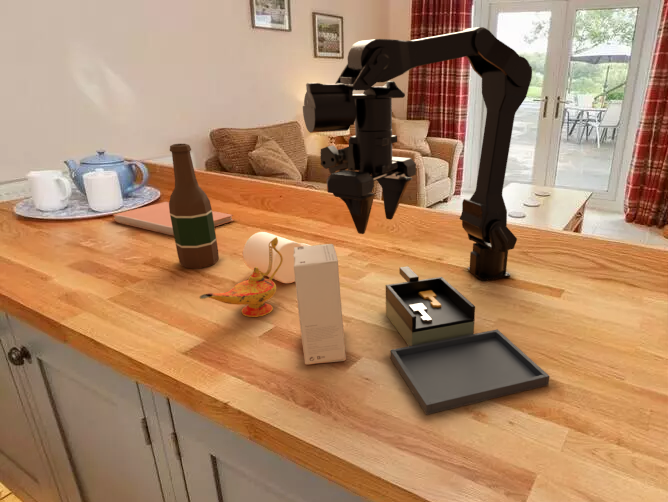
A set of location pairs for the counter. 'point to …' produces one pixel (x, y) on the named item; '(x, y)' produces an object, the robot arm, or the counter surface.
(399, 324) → the stand
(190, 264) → the beer bottle
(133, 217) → the notebook
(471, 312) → the dish
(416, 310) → the steel key
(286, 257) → the mug
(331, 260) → the cosmetic box
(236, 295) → the magic lamp
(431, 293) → the brass key
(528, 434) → the counter surface
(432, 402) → the tray
